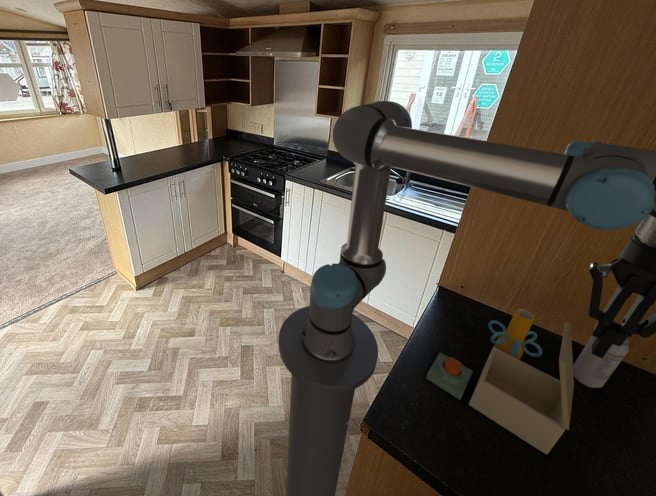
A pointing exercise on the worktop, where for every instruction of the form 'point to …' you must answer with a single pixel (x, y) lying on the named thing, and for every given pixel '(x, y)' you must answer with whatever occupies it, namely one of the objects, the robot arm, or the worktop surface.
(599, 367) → the energy drink can
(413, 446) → the worktop surface
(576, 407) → the worktop surface
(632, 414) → the worktop surface
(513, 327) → the cylinder
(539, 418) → the beige square box
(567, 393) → the beige board
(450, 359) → the button
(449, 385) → the control block
